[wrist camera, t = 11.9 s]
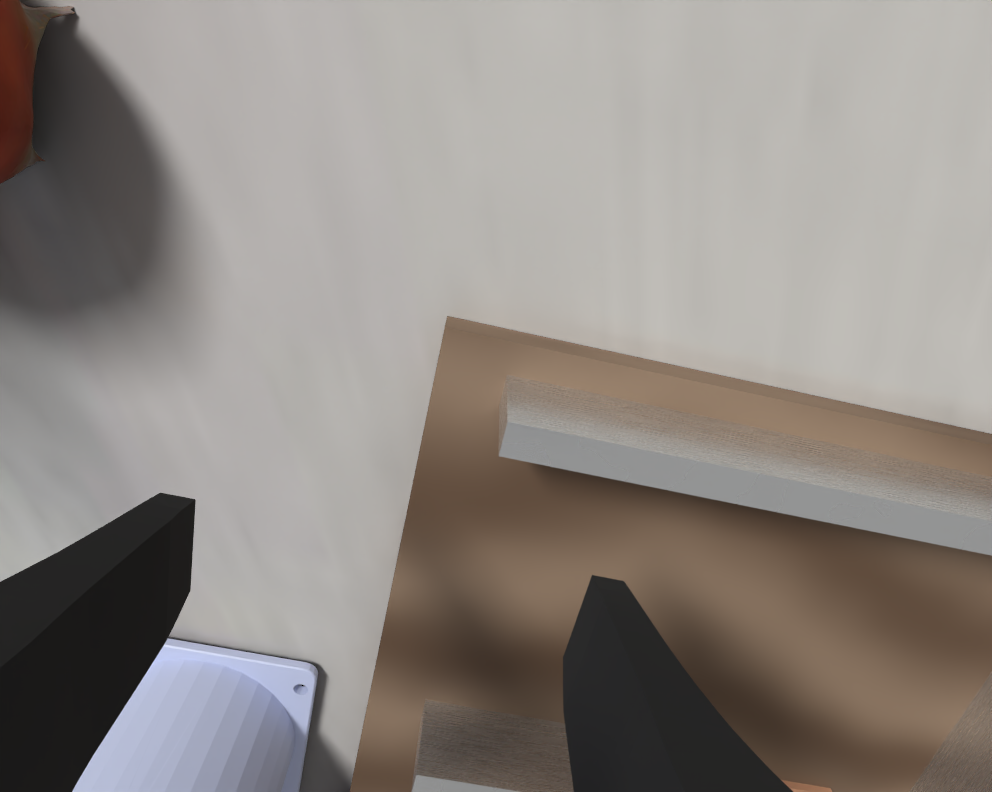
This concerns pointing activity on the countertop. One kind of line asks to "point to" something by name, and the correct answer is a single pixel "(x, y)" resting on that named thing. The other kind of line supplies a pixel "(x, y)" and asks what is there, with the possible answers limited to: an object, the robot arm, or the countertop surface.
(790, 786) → the pad
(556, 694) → the walnut board
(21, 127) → the fruit
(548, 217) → the countertop surface
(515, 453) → the channel walls
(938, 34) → the countertop surface
